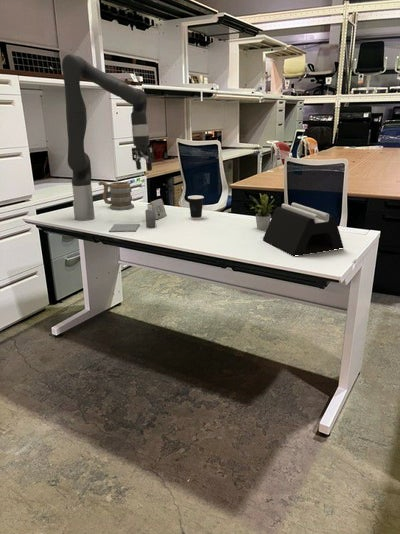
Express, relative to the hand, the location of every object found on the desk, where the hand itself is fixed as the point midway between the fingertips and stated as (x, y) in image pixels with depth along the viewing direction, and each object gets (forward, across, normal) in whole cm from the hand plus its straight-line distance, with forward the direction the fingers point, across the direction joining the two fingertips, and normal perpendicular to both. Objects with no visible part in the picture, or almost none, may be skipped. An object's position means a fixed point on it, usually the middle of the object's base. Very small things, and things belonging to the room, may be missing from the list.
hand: (144, 170), depth 200 cm
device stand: (+28, +78, +16) cm, 84 cm away
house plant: (+27, +50, +26) cm, 62 cm away
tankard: (+24, -39, +6) cm, 46 cm away
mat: (+24, +5, -18) cm, 30 cm away
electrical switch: (+25, -2, +6) cm, 26 cm away
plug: (+25, +12, -8) cm, 28 cm away
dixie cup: (+26, +15, +18) cm, 35 cm away
